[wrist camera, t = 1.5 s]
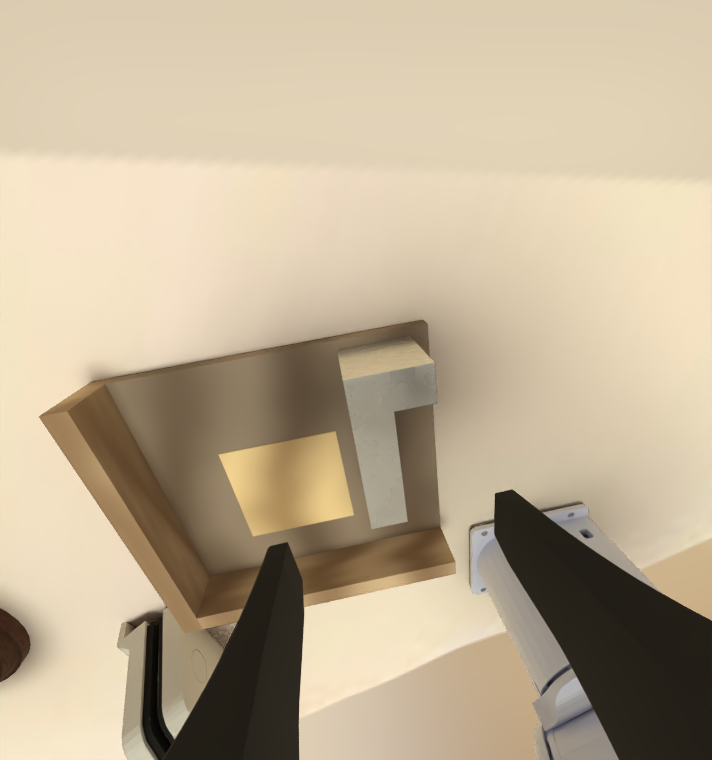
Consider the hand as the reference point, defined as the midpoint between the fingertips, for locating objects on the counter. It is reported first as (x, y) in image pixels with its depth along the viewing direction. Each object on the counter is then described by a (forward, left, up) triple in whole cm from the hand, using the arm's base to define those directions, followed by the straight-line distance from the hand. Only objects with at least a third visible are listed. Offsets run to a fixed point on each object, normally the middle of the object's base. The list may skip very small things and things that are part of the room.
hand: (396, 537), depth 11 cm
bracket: (0, +1, -9) cm, 9 cm away
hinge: (+16, +23, -10) cm, 30 cm away
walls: (+4, +3, -10) cm, 11 cm away
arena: (+4, +3, -10) cm, 11 cm away
